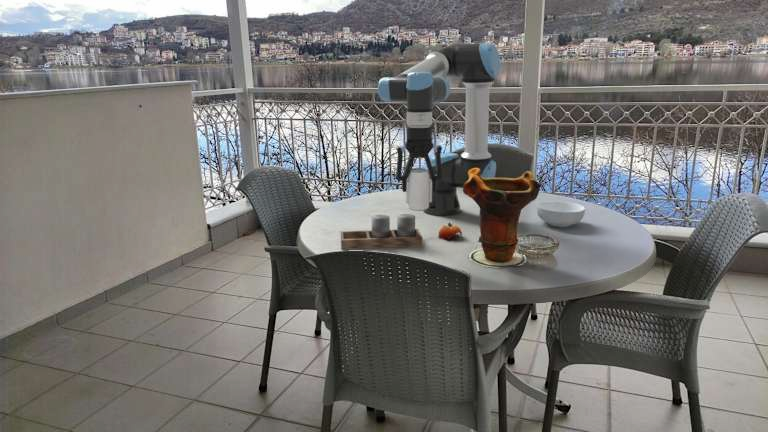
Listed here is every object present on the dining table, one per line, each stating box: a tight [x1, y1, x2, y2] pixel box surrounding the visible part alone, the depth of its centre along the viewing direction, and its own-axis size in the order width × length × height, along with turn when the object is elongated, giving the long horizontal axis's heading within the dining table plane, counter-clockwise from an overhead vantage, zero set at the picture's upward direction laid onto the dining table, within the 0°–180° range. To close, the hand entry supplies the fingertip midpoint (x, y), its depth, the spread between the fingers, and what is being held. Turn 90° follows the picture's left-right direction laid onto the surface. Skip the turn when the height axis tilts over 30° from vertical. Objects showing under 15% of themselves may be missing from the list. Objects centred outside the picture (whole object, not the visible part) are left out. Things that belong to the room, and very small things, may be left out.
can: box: [407, 167, 429, 212], centre depth 162 cm, size 6×6×12 cm
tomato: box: [438, 222, 463, 241], centre depth 183 cm, size 8×7×7 cm
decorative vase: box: [462, 168, 542, 269], centre depth 160 cm, size 21×23×28 cm
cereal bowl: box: [536, 200, 586, 228], centre depth 197 cm, size 17×17×7 cm
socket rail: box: [340, 213, 423, 250], centre depth 176 cm, size 27×9×9 cm, turn 96°
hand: (418, 201), depth 163 cm, fingers closed on can, 6 cm apart
